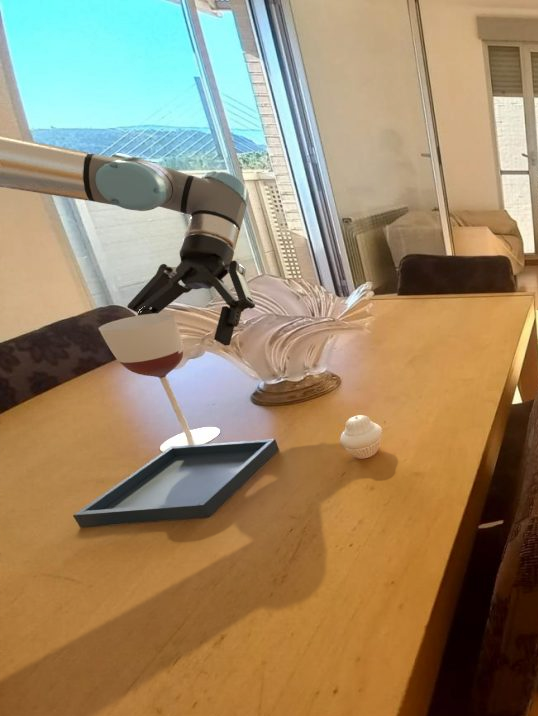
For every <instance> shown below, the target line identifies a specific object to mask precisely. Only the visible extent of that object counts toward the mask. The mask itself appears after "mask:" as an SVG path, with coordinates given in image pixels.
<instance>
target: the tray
mask: <svg viewBox="0 0 538 716" xmlns="http://www.w3.org/2000/svg"><path fill="white" fill-rule="evenodd" d="M279 450H280V448H279V445H278V443H277V440H276V439H275V438H272V439H270V438H269V439H255V440H243V441H229V442H216V443H215V442H214V443H205V444H199V445H185V446H172V447H170V448H168V449H167V450H165V451H164V452H162V451H161V452H160V453H159V454H158V455H157V456H155V457H153V458H152V459H151V460H150V461H148V462H147V463H145V464H143V465H142V466H141V467H139V468H138V469H137V470H136V471H134V472H132V473H131V474H129V475H128V476H126V477H125V478H124V479H122V480H121V481H119V482H118V483H117V484H115V485H114V486H112V487H110V489H108V490H106V491H105V492H104V493H102V494H101V495H100V496H98V497H96V498H95V499H94V500H92V501H90V503H88V504H87V505H86V506H84V507H83V508H81V509H80V510H78V511H77V512H75V513H74V514H73V515H72V517H73V519H74V520H75V522H76V523H77V525H78V526H79V528H90V527H91V528H92V527H102V526H115V525H130V524H140V523H141V524H142V523H152V522H153V523H154V522H165V521H176V520H177V521H178V520H189V519H190V520H191V519H202V518H210V517H211V516H212V515H213V514H214V513H215V512H216V511H217V510H218V509H219V508H221V506H223V504H224V503H225V502H226V501H227V500H228V499H230V497H232V496H233V495H234V494H235V493H236V492H237V491H238V490H239V489H240V488H241V487H242V486H243V485H244V484H245V483H247V481H248V480H249V479H250V478H251V477H253V475H255V473H257V471H258V470H260V469H261V468H262V467H263V466H264V465H265V464H267V462H268V461H269V460H270V459H271V458H272V457H273V456H274V455H275V454H276V453H277V452H278V451H279Z"/></svg>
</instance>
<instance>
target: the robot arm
mask: <svg viewBox="0 0 538 716" xmlns="http://www.w3.org/2000/svg"><path fill="white" fill-rule="evenodd" d="M0 188H4V189H5V188H6V189H11V190H18V191H24V192H31V193H38V194H43V195H49V196H54V197H55V196H57V197H63V198H70V199H74V200H81V201H89V202H94V203H99V204H105V205H111V206H116V207H119V208H121V209H125V210H128V211H138V212H147V211H152V210H154V209H157V208H158V207H159V208H161V209H162V208H163V209H166V210H170V211H175V212H177V213H182V214H185V215H190V217H189V221H188V223H187V228H186V230H185V233H184V238H183V239H182V243H181V246H180V249H179V257H180V262H179V264H178V265H177V266H169V265H168V264H166V263H162V264H160V265H159V266H158V269H157V271H156V273H155V274H154V276H153V277H152V278H151V279H150V280H149V281H148V282H147V283H146V284H145V285H144V286H143V288H142V289H140V291H139V292H138V293H136V295H135V296H134V298H132V300H131V301H130V302H128V303H127V306H126V307H127V309H129V310H130V311H133V312H134V313H137V316H139V315H146V314H155V313H161V312H162V311H163V310H165V308H167V307H168V306H169V305H171V304H172V303H173V302H174V301H175V300H177V299H178V298H180V297H181V296H182V295H183V294H187V293H189V292H191V291H192V290H200V289H206V290H209V289H212V288H214V290H215V291H216V292H217V293H218V294H219V296H220V297H221V298H222V299H223V301H224V302H225V305H224V306H222V307H221V311H220V314H219V317H218V318H219V319H218V322H217V325H216V330H215V333H214V338H213V340H214V341H216V342H218V343H219V344H222V345H223V346H231V342H232V338H233V334H234V329H235V327H236V328H237V327H238V326H239V324H240V320H241V317H242V313H243V312H244V311H245V310H246V309H250V310H252V309H255V307H256V303H255V300H254V298H253V295H252V293H251V290H250V287H249V284H248V282H247V279H246V268H245V267H244V266H243V265H242V264H241V263H239V262H238V261H236V260H233V259H234V255H235V249H236V247H237V243H238V240H239V235H240V232H241V228H242V224H243V221H244V217H245V214H246V211H247V205H248V200H249V189H248V187H247V185H246V184H245V182H243V181H242V180H241V179H240V178H238V177H236V176H235V175H233V174H231V173H228V172H224V171H216V170H210V171H207V172H206V173H204V174H203V175H202V177H199V176H196V175H191V174H187V173H184V172H182V171H178V170H175V169H172V168H169V167H166V166H163V165H160V164H157V163H155V162H151V161H148V160H145V159H144V158H141V157H136V156H131V155H127V154H125V153H114V154H112V155H111V156H107V155H102V154H96V153H91V152H87V151H83V150H77V149H73V148H67V147H62V146H57V145H51V144H47V143H42V142H37V141H31V140H27V139H21V138H17V137H12V136H6V135H1V134H0ZM228 274H229V276H230V280H231V282H232V284H233V288H234V291H235V293H236V296H237V297H236V296H235V295H234V293H233V292H232V291H231V290H230V288H229V286H228V285H227V284H226V282H225V281H224V280H223V279H224V278H225V277H226V276H227V275H228ZM180 282H182V284H181V283H180ZM144 306H145V307H144ZM142 307H143V308H142ZM141 308H142V309H141ZM139 309H141V310H140V311H142V312H141V313H140V311H139ZM138 311H139V313H138Z"/></svg>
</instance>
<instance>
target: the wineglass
mask: <svg viewBox="0 0 538 716" xmlns="http://www.w3.org/2000/svg"><path fill="white" fill-rule="evenodd" d="M98 331H99V332H100V334H101V336H102V338H103V340H104V341H105V343H106V345H107V346H108V348H109V350H110V352H111V353H112V354H113V356H114V357H115V359H116V360H117V362H119V364H121V365H122V366H123V367H124V368H126V369H127V370H128V371H130V372H131V373H134V374H137V375H141V376H146V377H155V378H159V380H160V383H161V384H162V387H163V389H164V391H165V393H166V395H167V398H168V400H169V402H170V404H171V407H172V409H173V411H174V413H175V415H176V418H177V420H178V422H179V424H180V426H181V429H182V431H183V432H181V433H178V434H176V435H174V436H173V437H170V438H168V439H167V440H166V441H164V442H163V443H161V445H160V446H159V450H160V452H161V453H162V452H164V451H165V450H167V449H168V448H170V447H172V446H185V445H199V444H208V443H209V442H211V441H213V440H214V439H215V438H217V437H218V436H219V434H220V433H221V429H219V427H214V426H206V427H199V428H195V429H191V428H190V427H189V424H188V422H187V419H186V417H185V416H184V413H183V411H182V409H181V407H180V405H179V402H178V400H177V397H176V395H175V393H174V391H173V389H172V387H171V384H170V382H169V380H168V378H167V375H168V374H169V373H170V372H172V371H173V370H175V369H176V368H177V367H178V366H179V364H180V363H181V362H182V359H183V358H184V357H183V356H184V342H183V338H182V335H181V332H180V329H179V326H178V324H177V321H176V318H175V316H174V314H172V313H170V312H169V313H167V312H159V313H155V314H146V315H139V316H138V315H134V316H128V317H124V318H120V319H117V320H112V321H110V322H107V323H105V324H103V325H100V326H98Z"/></svg>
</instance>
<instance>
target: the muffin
mask: <svg viewBox="0 0 538 716" xmlns="http://www.w3.org/2000/svg"><path fill="white" fill-rule="evenodd" d="M344 426H345V428H344V430H343V432H342V433H341V434H340V438H339V442H340V445H342V447H344V449H345V450H346V451H347V452H348V453H350V454H351V455H352V456H354V457H355V458H356V459H359V460H363V459H368V458H370V457H371V458H372V457H373V456H374V455H376V454H377V453H378V451H379V448H380V444H381V441H382V435H383V428H382V427H381V426H380V424H377V423H376V422H374V421H372V420H371V419H370V418H369V416H367V415H365V414H364V415H363V414H358V415H355V416H352V417H350V418H348V420H347V421H346V422H345V425H344Z"/></svg>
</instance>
